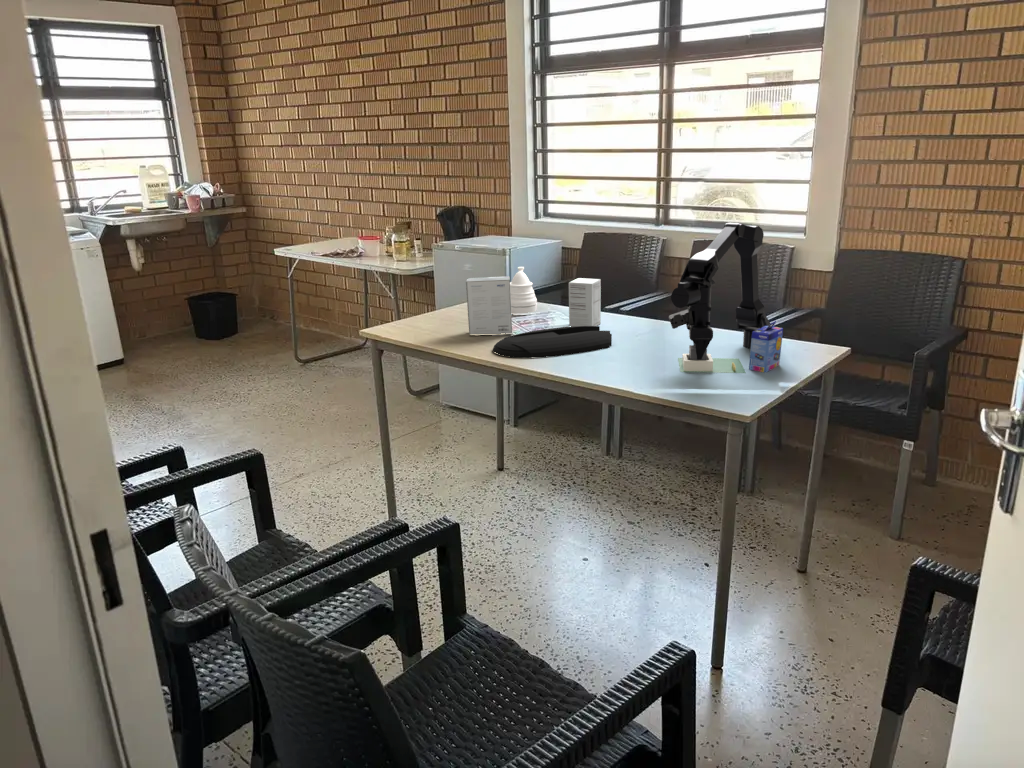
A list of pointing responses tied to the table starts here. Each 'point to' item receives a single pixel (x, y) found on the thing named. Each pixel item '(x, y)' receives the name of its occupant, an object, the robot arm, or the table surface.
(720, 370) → the board
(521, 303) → the honey pot
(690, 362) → the frame
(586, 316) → the supplement box
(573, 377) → the table surface
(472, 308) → the hard drive box
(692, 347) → the plug
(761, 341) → the ink cartridge box
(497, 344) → the docking station
